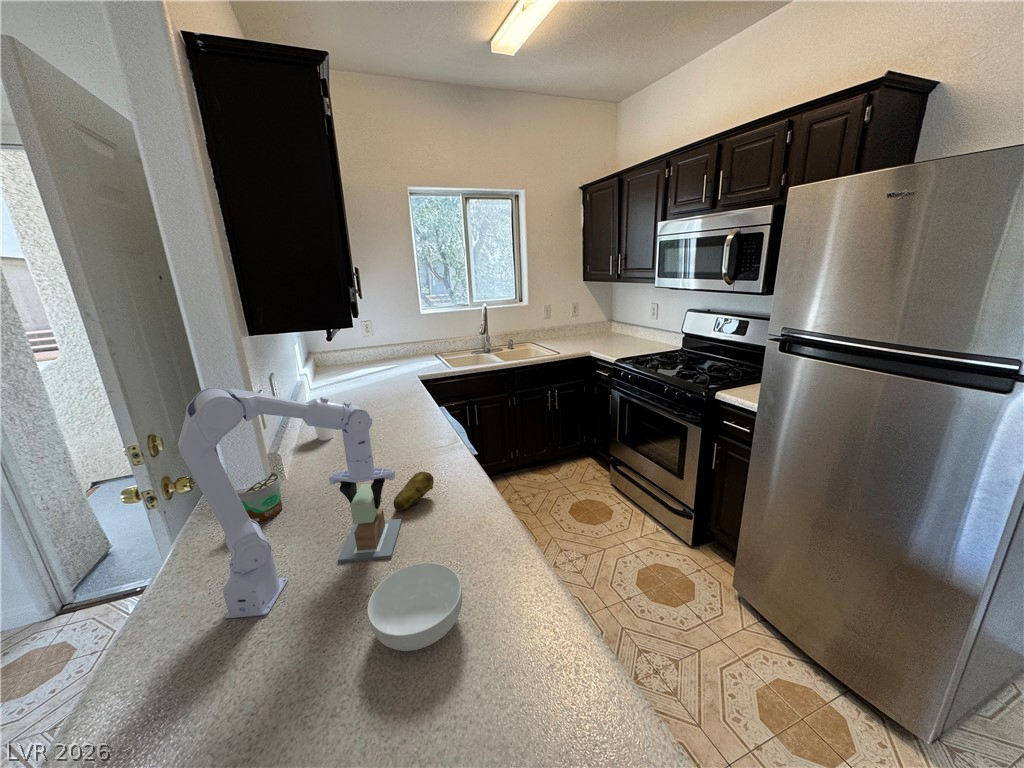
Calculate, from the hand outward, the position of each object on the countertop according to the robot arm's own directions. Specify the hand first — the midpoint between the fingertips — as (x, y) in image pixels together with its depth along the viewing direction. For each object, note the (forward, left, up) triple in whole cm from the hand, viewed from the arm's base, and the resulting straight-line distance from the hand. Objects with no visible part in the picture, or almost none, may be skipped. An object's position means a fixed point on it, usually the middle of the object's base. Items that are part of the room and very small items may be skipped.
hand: (367, 507), depth 96 cm
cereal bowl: (-26, -15, -10) cm, 32 cm away
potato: (+16, -8, -10) cm, 20 cm away
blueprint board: (0, 0, -9) cm, 9 cm away
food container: (+15, +31, -10) cm, 36 cm away
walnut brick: (0, 0, -9) cm, 9 cm away
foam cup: (+69, +35, -10) cm, 78 cm away
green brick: (0, 0, -1) cm, 1 cm away
